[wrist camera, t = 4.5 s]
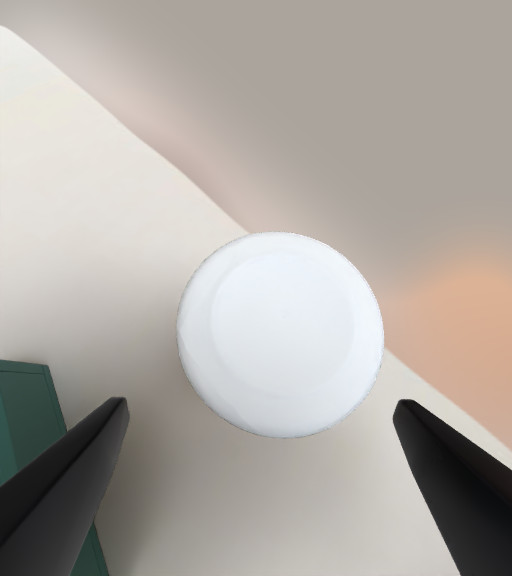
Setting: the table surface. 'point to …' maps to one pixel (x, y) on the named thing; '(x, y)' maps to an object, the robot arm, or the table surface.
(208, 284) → the sprinkles bottle
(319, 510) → the table surface
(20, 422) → the tray
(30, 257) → the table surface
